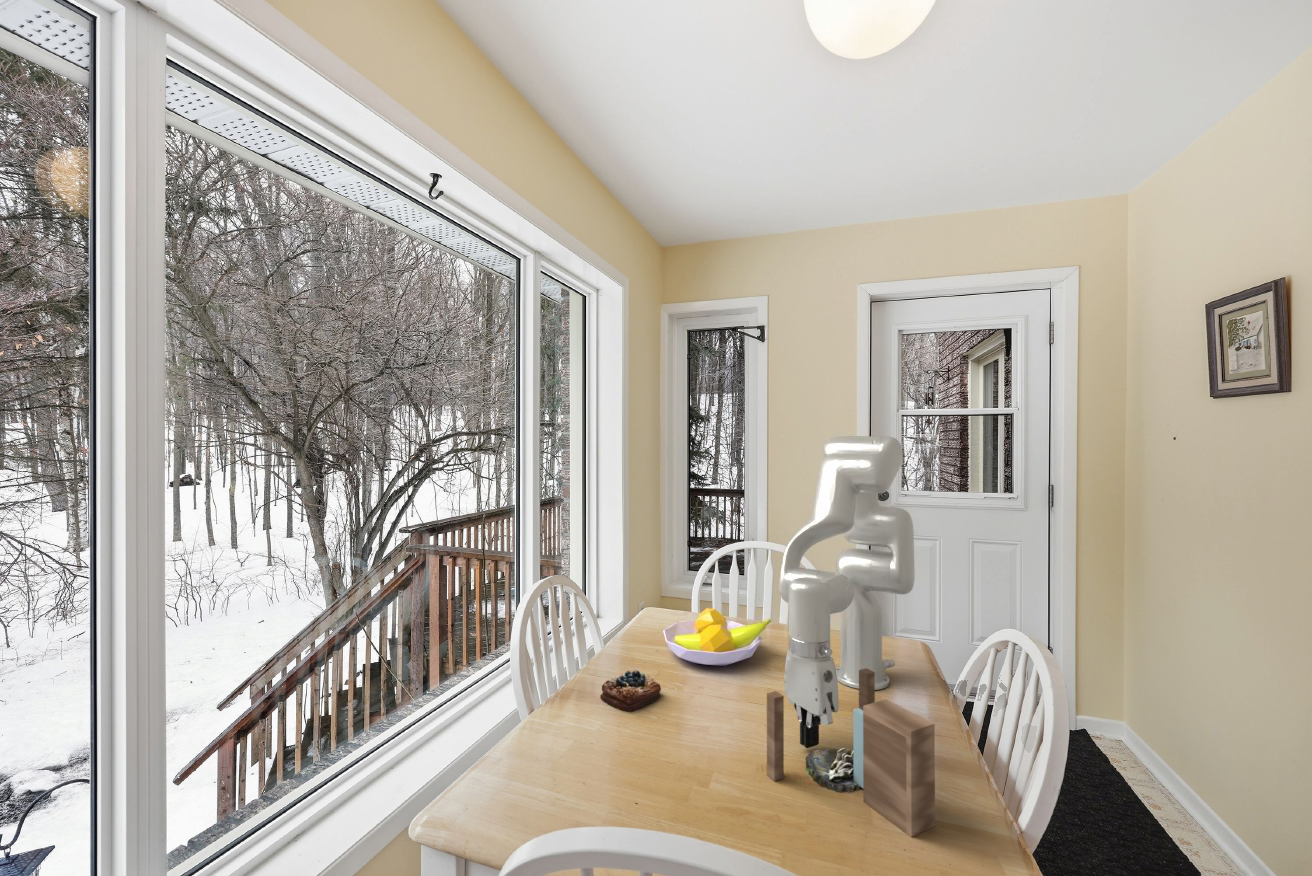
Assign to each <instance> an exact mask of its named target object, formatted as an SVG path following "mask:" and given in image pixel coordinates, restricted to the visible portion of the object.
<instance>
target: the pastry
mask: <svg viewBox="0 0 1312 876" xmlns="http://www.w3.org/2000/svg"><path fill="white" fill-rule="evenodd" d="M661 690H662V687H661V684H660V683H658V681H656V680H655V679H654V678H653V677H651V676H650V675H648V674H647V675H645V674H644V673H641V672H640V671H639V670H632V671H630V670H626V672H625V673H622V674H621V675H619V676H616V677H614V678H611V679H608V680H606V681H605V682H604V683H603V684H602V685H601V692H602V693H601V694H600V699H601V700H602V702H603V703H606V704H607V705H609V706H611V707H613V708H616V709H618V710H621V711H624V712H627V713H632V712H634V711H636V710H640V709H641V708H644V707H645V706H647V705H649V704H652V703H653V702H654V701H656V700H657V699H659V698H660V697H661Z"/></svg>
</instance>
